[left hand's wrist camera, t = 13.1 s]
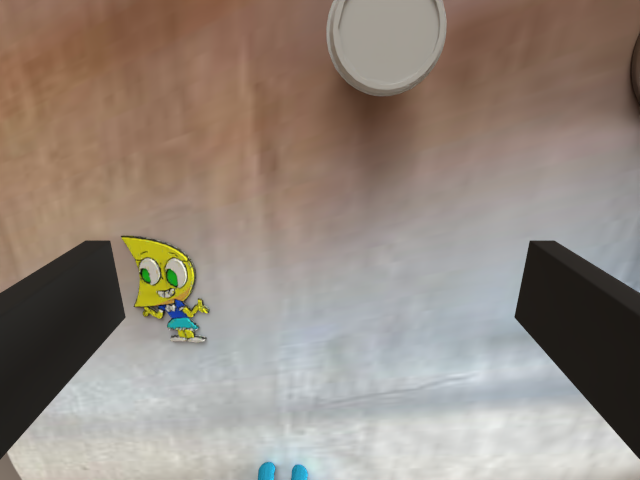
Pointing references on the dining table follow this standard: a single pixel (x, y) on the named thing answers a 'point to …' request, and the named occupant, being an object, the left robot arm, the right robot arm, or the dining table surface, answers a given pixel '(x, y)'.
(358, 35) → the disposable coffee cup
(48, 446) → the dining table surface
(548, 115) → the dining table surface
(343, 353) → the dining table surface
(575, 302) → the left robot arm
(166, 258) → the toy
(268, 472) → the toy
